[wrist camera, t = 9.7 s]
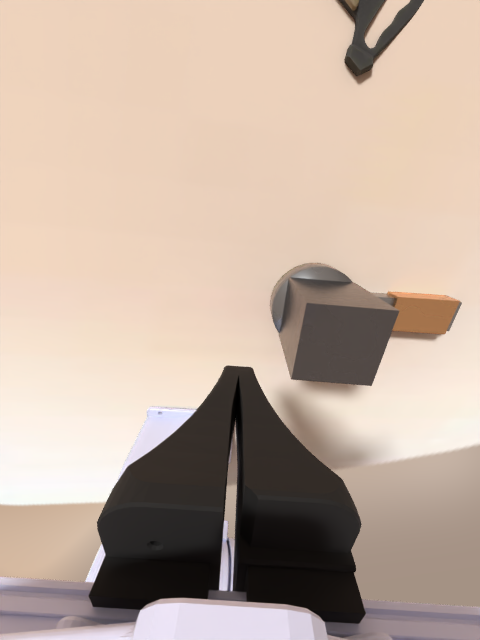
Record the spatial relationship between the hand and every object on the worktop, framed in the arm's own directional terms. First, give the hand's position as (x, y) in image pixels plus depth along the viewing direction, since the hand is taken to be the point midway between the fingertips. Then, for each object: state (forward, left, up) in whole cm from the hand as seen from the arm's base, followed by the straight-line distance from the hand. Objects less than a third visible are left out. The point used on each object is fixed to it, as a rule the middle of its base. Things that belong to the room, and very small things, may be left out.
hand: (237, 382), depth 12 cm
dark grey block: (+6, +1, -9) cm, 11 cm away
